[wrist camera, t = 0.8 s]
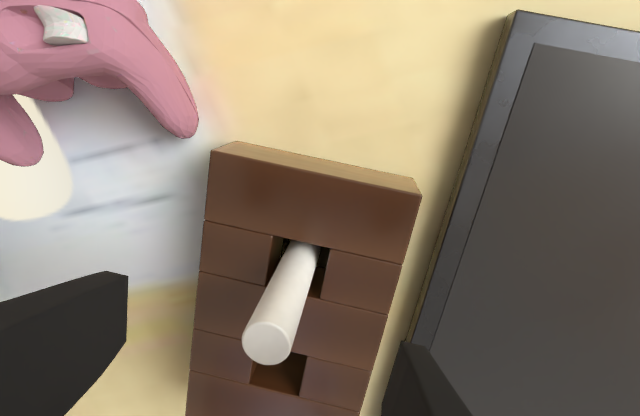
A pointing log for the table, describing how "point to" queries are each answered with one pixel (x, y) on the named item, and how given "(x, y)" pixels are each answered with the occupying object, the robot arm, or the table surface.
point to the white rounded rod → (281, 306)
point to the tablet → (544, 230)
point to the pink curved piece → (83, 65)
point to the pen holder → (325, 289)
